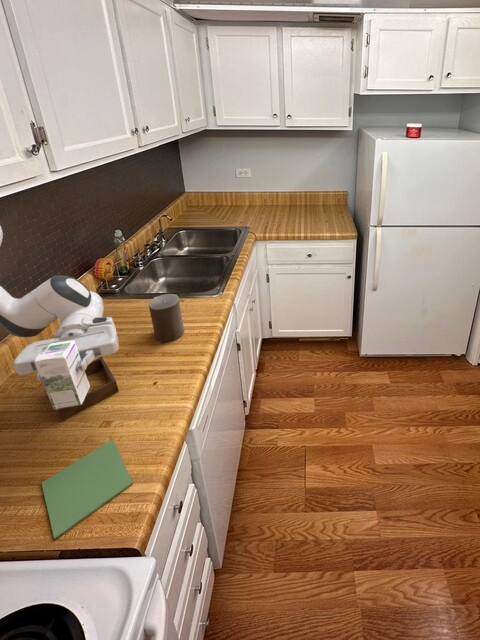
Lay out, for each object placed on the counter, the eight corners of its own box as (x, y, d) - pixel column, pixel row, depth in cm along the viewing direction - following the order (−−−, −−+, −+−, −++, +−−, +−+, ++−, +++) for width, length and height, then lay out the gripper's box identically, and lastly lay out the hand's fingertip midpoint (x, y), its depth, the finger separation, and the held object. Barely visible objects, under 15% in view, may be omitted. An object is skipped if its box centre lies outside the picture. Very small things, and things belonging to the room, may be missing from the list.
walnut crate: (61, 421, 86) (57, 410, 85) (51, 391, 95) (47, 380, 94) (118, 391, 95) (115, 380, 94) (104, 366, 104) (101, 356, 103)
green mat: (54, 540, 63) (53, 538, 63) (42, 484, 72) (41, 482, 72) (133, 483, 72) (132, 482, 72) (113, 440, 81) (112, 439, 81)
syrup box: (91, 386, 80) (75, 338, 75) (81, 406, 75) (64, 356, 70) (64, 390, 79) (46, 342, 74) (52, 411, 74) (32, 361, 68)
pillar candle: (169, 345, 113) (162, 308, 108) (149, 338, 117) (141, 301, 111) (190, 329, 121) (184, 293, 116) (170, 322, 125) (163, 287, 119)
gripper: (22, 334, 80) (-3, 375, 68) (118, 315, 88) (110, 349, 76) (30, 355, 82) (7, 398, 71) (123, 335, 90) (116, 371, 78)
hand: (61, 373), depth 73 cm, fingers closed on syrup box, 6 cm apart
